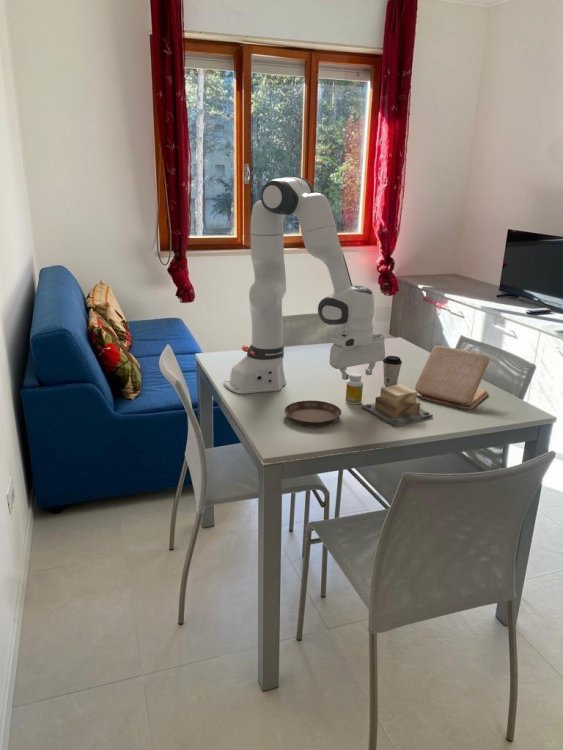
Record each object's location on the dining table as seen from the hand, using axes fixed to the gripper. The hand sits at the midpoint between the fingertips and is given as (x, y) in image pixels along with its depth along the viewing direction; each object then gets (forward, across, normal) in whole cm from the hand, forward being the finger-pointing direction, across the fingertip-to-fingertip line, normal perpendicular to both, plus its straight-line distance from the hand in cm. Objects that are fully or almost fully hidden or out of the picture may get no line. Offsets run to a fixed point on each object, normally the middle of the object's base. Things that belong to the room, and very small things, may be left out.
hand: (357, 376), depth 194 cm
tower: (+9, -6, +13) cm, 17 cm away
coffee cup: (+10, -22, -10) cm, 26 cm away
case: (+10, -34, +9) cm, 37 cm away
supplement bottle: (+9, 0, -1) cm, 9 cm away
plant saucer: (+9, +20, +5) cm, 23 cm away
